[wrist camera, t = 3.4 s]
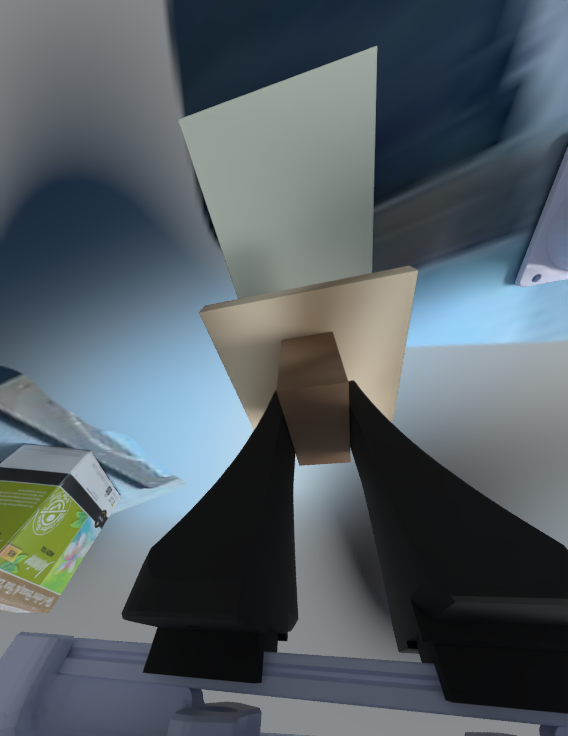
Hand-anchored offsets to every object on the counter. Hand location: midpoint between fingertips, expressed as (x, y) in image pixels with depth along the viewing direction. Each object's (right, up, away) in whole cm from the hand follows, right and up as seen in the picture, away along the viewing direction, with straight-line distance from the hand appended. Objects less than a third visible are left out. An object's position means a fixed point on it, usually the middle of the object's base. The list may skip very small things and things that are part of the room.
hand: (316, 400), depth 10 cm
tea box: (-36, -16, +25) cm, 46 cm away
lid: (0, +2, +2) cm, 2 cm away
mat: (-1, +12, +3) cm, 12 cm away
